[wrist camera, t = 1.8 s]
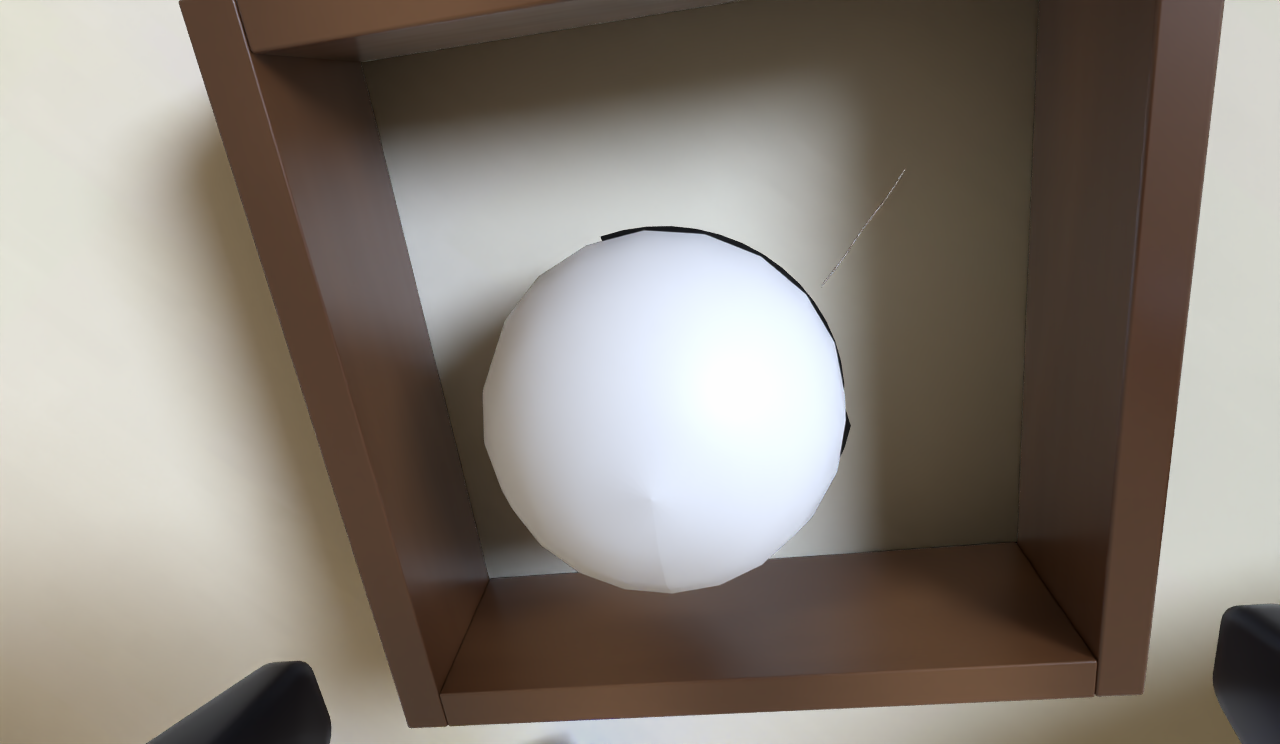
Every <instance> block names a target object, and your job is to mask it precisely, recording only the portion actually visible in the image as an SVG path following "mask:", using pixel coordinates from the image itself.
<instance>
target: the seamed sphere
mask: <svg viewBox="0 0 1280 744" xmlns="http://www.w3.org/2000/svg"><path fill="white" fill-rule="evenodd" d="M905 169H906V168H905ZM905 169H904V171H905ZM904 171H903V172H902V174H901V176H902V175H903V173H904ZM901 176H900V177H899V179H900V178H901ZM899 179H898V180H897V182H898V181H899ZM897 182H896V183H895V185H894V187H895V186H896V184H897ZM894 187H893V188H892V190H893V189H894ZM892 190H891V191H890V193H891V192H892ZM890 193H889V194H888V195H887V197H886V198H885V199H884V201H883V202H882V203H881V205H880V206H879V207H878V208H877V210H876V211H875V212H874V214H873V215H872V216H871V218H870V219H869V220H868V222H867V223H866V224H865V226H864V227H863V228H862V230H861V231H860V233H861V232H862V231H863V229H864V228H865V227H866V225H867V224H868V223H869V221H870V220H871V219H872V217H873V216H874V215H875V213H876V212H877V211H878V210H879V208H880V207H881V206H882V204H883V203H884V202H885V200H886V199H887V198H888V196H889V195H890ZM860 233H859V234H858V236H859V235H860ZM858 236H857V237H856V239H857V238H858ZM601 239H602V241H601V242H597V243H594V244H590V245H586V246H585V247H583V248H582V249H580V250H579V251H577V252H575V253H574V254H572V255H571V256H569V257H568V258H566V259H565V260H563V261H562V262H560V263H559V264H557V265H556V266H554V267H552V268H551V269H549V270H548V271H546V272H545V273H543V274H542V275H540V276H539V277H538V278H537V279H536V281H535V282H534V283H533V284H532V286H531V287H530V288H529V290H528V291H527V292H526V294H525V295H524V296H523V297H522V299H521V300H520V301H519V303H518V304H517V305H516V307H515V308H514V309H513V310H512V312H511V313H510V314H509V316H508V317H507V318H506V319H505V322H504V325H503V329H502V332H501V335H500V338H499V341H498V344H497V347H496V350H495V353H494V356H493V359H492V362H491V366H490V369H489V372H488V375H487V379H486V382H485V386H484V389H483V421H484V444H485V447H486V449H487V452H488V455H489V457H490V460H491V463H492V465H493V468H494V471H495V473H496V476H497V479H498V481H499V484H500V486H501V489H502V491H503V493H504V495H505V497H506V498H507V500H508V502H509V504H510V506H511V507H512V509H513V510H514V512H515V513H516V514H517V515H518V517H519V518H520V519H521V520H522V522H523V523H524V524H525V526H526V527H527V528H528V529H529V531H530V532H531V533H532V534H533V536H534V537H535V538H536V540H537V541H538V542H539V543H540V545H541V546H543V547H544V548H546V549H547V550H548V551H550V552H551V553H553V554H554V555H555V556H557V557H558V558H560V559H561V560H562V561H564V562H565V563H567V564H568V565H569V566H571V567H572V568H574V569H575V570H576V571H578V572H579V573H582V574H584V575H587V576H590V577H593V578H595V579H598V580H601V581H603V582H606V583H609V584H612V585H614V586H617V587H620V588H623V589H628V590H639V591H650V592H661V593H678V592H684V591H690V590H695V589H701V588H707V587H713V586H718V585H721V584H723V583H725V582H727V581H729V580H731V579H734V578H736V577H738V576H740V575H742V574H744V573H746V572H748V571H750V570H752V569H754V568H756V567H758V566H761V565H762V564H763V563H764V562H766V561H767V560H768V559H769V558H770V557H771V556H772V555H773V554H774V553H775V552H776V551H777V550H779V549H780V548H781V547H782V546H783V545H784V544H785V543H786V542H787V541H788V540H789V539H790V538H791V537H793V536H794V535H795V534H796V533H797V532H798V531H799V530H800V529H801V528H802V527H803V526H804V525H805V524H806V523H807V522H808V521H809V520H810V519H811V518H812V517H813V515H814V513H815V511H816V510H817V508H818V506H819V504H820V502H821V500H822V499H823V497H824V495H825V493H826V491H827V489H828V488H829V486H830V484H831V482H832V480H833V479H834V477H835V475H836V473H837V471H838V465H839V459H840V456H841V454H842V452H843V450H844V447H845V444H846V441H847V437H848V434H849V430H850V427H851V425H850V422H849V419H848V416H847V412H846V409H845V393H844V379H843V372H842V365H841V360H840V356H839V353H838V349H837V346H836V343H835V340H834V338H833V335H832V333H831V331H830V328H829V326H828V324H827V322H826V320H825V318H824V317H823V315H822V313H821V312H820V310H819V309H818V307H817V305H816V304H815V302H814V301H813V300H812V298H811V297H810V296H809V295H808V294H807V292H806V291H805V290H804V289H803V287H802V286H801V285H800V284H799V283H798V282H797V281H796V280H795V279H794V278H793V277H792V276H791V275H789V274H788V273H787V272H786V271H785V270H784V269H783V268H782V267H780V266H779V265H777V264H776V263H775V262H773V261H772V260H770V259H769V258H768V257H766V256H765V255H763V254H762V253H760V252H758V251H756V250H754V249H752V248H750V247H748V246H747V245H745V244H743V243H740V242H738V241H735V240H733V239H730V238H727V237H725V236H722V235H719V234H715V233H711V232H707V231H702V230H698V229H692V228H683V227H674V226H658V227H642V228H635V229H628V230H622V231H619V232H615V233H611V234H608V235H604V236H601ZM856 239H855V240H854V242H855V241H856ZM854 242H853V243H852V245H853V244H854ZM852 245H851V247H852ZM851 247H850V248H849V250H850V249H851ZM849 250H848V251H847V253H848V252H849ZM847 253H846V254H845V256H846V255H847ZM845 256H844V257H843V258H842V259H841V261H840V262H839V263H838V265H837V266H836V267H835V269H834V270H833V271H832V272H831V274H830V275H829V276H828V277H827V279H826V280H825V281H824V283H823V284H822V286H823V285H824V284H825V282H826V281H827V280H828V279H829V277H830V276H831V275H832V273H833V272H834V271H835V270H836V268H837V267H838V266H839V264H840V263H841V262H842V260H843V259H844V258H845Z"/></svg>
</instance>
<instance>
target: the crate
mask: <svg viewBox="0 0 1280 744" xmlns="http://www.w3.org/2000/svg"><path fill="white" fill-rule="evenodd" d="M737 1H743V0H180V1H179V5H180V9H181V12H182V15H183V18H184V21H185V24H186V27H187V31H188V34H189V37H190V40H191V43H192V46H193V49H194V53H195V56H196V59H197V62H198V65H199V68H200V72H201V75H202V78H203V81H204V84H205V87H206V90H207V94H208V97H209V100H210V103H211V106H212V109H213V113H214V116H215V119H216V122H217V125H218V128H219V131H220V135H221V138H222V141H223V144H224V147H225V150H226V153H227V157H228V160H229V163H230V166H231V169H232V172H233V176H234V179H235V182H236V185H237V188H238V191H239V194H240V198H241V201H242V204H243V207H244V210H245V213H246V216H247V220H248V223H249V226H250V229H251V232H252V235H253V239H254V242H255V245H256V248H257V251H258V254H259V257H260V261H261V264H262V267H263V270H264V273H265V276H266V280H267V283H268V286H269V289H270V292H271V295H272V298H273V302H274V305H275V308H276V311H277V314H278V317H279V320H280V324H281V327H282V330H283V333H284V336H285V339H286V343H287V346H288V349H289V352H290V355H291V358H292V361H293V365H294V368H295V371H296V374H297V377H298V380H299V383H300V387H301V390H302V393H303V396H304V399H305V402H306V406H307V409H308V412H309V415H310V418H311V421H312V424H313V428H314V431H315V434H316V437H317V440H318V443H319V446H320V450H321V453H322V456H323V459H324V462H325V465H326V469H327V472H328V475H329V478H330V481H331V484H332V487H333V491H334V494H335V497H336V500H337V503H338V506H339V510H340V513H341V516H342V519H343V522H344V525H345V528H346V532H347V535H348V538H349V541H350V544H351V547H352V550H353V554H354V557H355V560H356V563H357V566H358V569H359V573H360V576H361V579H362V582H363V585H364V588H365V591H366V595H367V598H368V601H369V604H370V607H371V610H372V613H373V617H374V620H375V623H376V626H377V629H378V632H379V636H380V639H381V642H382V645H383V648H384V651H385V654H386V658H387V661H388V664H389V667H390V670H391V673H392V677H393V680H394V683H395V686H396V689H397V692H398V695H399V699H400V702H401V705H402V708H403V711H404V714H405V717H406V721H407V724H408V727H409V728H424V727H446V726H448V725H449V726H465V725H487V724H509V723H531V722H554V721H576V720H598V719H620V718H643V717H665V716H687V715H709V714H732V713H754V712H776V711H798V710H821V709H843V708H865V707H887V706H910V705H932V704H954V703H976V702H999V701H1021V700H1043V699H1065V698H1087V697H1094V695H1096V696H1098V697H1102V696H1124V695H1141V694H1143V693H1144V687H1145V678H1146V670H1147V661H1148V652H1149V644H1150V635H1151V627H1152V618H1153V610H1154V601H1155V592H1156V584H1157V575H1158V567H1159V558H1160V549H1161V541H1162V532H1163V524H1164V515H1165V507H1166V498H1167V489H1168V481H1169V472H1170V464H1171V455H1172V447H1173V438H1174V429H1175V421H1176V412H1177V404H1178V395H1179V387H1180V378H1181V369H1182V361H1183V352H1184V344H1185V335H1186V327H1187V318H1188V309H1189V301H1190V292H1191V284H1192V275H1193V267H1194V258H1195V249H1196V241H1197V232H1198V224H1199V215H1200V207H1201V198H1202V189H1203V181H1204V172H1205V164H1206V155H1207V146H1208V138H1209V129H1210V121H1211V112H1212V104H1213V95H1214V86H1215V78H1216V69H1217V61H1218V52H1219V44H1220V35H1221V26H1222V18H1223V9H1224V1H1225V0H1039V5H1038V30H1037V55H1036V80H1035V106H1034V131H1033V156H1032V182H1031V207H1030V232H1029V257H1028V283H1027V308H1026V333H1025V359H1024V384H1023V409H1022V434H1021V460H1020V485H1019V510H1018V536H1017V543H1015V542H1008V543H994V544H980V545H965V546H951V547H937V548H923V549H908V550H894V551H880V552H865V553H851V554H837V555H822V556H808V557H794V558H780V559H768V560H767V561H766V562H764V563H763V564H762V565H761V566H758V567H756V568H754V569H752V570H750V571H748V572H746V573H744V574H742V575H740V576H738V577H736V578H734V579H731V580H729V581H727V582H725V583H723V584H721V585H718V586H713V587H707V588H701V589H695V590H690V591H684V592H678V593H661V592H650V591H639V590H628V589H623V588H620V587H617V586H614V585H612V584H609V583H606V582H603V581H601V580H598V579H595V578H593V577H590V576H587V575H584V574H582V573H565V574H551V575H536V576H522V577H508V578H493V579H490V580H489V577H488V573H487V569H486V565H485V561H484V557H483V553H482V549H481V545H480V541H479V537H478V533H477V528H476V524H475V520H474V516H473V512H472V508H471V504H470V500H469V496H468V492H467V488H466V484H465V480H464V476H463V472H462V468H461V464H460V460H459V456H458V452H457V448H456V444H455V440H454V436H453V432H452V428H451V424H450V420H449V416H448V411H447V407H446V403H445V399H444V395H443V391H442V387H441V383H440V379H439V375H438V371H437V367H436V363H435V359H434V355H433V351H432V347H431V343H430V339H429V335H428V331H427V327H426V323H425V319H424V315H423V311H422V307H421V303H420V298H419V294H418V290H417V286H416V282H415V278H414V274H413V270H412V266H411V262H410V258H409V254H408V250H407V246H406V242H405V238H404V234H403V230H402V226H401V222H400V218H399V214H398V210H397V206H396V202H395V198H394V194H393V190H392V186H391V181H390V177H389V173H388V169H387V165H386V161H385V157H384V153H383V149H382V145H381V141H380V137H379V133H378V129H377V125H376V121H375V117H374V113H373V109H372V105H371V101H370V97H369V93H368V89H367V85H366V81H365V77H364V73H363V68H362V64H361V62H366V61H372V60H379V59H385V58H391V57H397V56H403V55H409V54H416V53H422V52H428V51H434V50H440V49H447V48H453V47H459V46H465V45H471V44H477V43H484V42H490V41H496V40H502V39H508V38H514V37H521V36H527V35H533V34H539V33H545V32H551V31H558V30H564V29H570V28H576V27H582V26H588V25H595V24H601V23H607V22H613V21H619V20H625V19H632V18H638V17H644V16H650V15H656V14H663V13H669V12H675V11H681V10H687V9H693V8H700V7H706V6H712V5H718V4H724V3H730V2H737Z"/></svg>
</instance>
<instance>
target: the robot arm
mask: <svg viewBox="0 0 1280 744" xmlns="http://www.w3.org/2000/svg"><path fill="white" fill-rule="evenodd" d="M1213 686H1214V690H1215V694H1216V697H1217V699H1218V702H1219V704H1220V706H1221V708H1222V710H1223V712H1224V713H1225V715H1226V717H1227V719H1228V721H1229V722H1230V724H1231V726H1232V728H1233V729H1234V731H1235V733H1236V735H1237V736H1238V738H1239V740H1240V742H1241V743H1242V744H1280V605H1279V604H1257V605H1240V606H1233V607H1231V608H1229V609H1227V610H1226V611H1225V613H1224V614H1223V616H1222V620H1221V624H1220V631H1219V638H1218V644H1217V651H1216V657H1215V664H1214V670H1213ZM330 738H331V720H330V716H329V713H328V711H327V708H326V705H325V702H324V700H323V697H322V694H321V691H320V688H319V686H318V683H317V680H316V677H315V675H314V672H313V670H312V668H311V667H310V666H309V665H308V664H307V663H306V662H302V661H288V662H273V663H269V664H266V665H264V666H262V667H260V668H259V669H257V670H256V671H254V672H253V673H251V674H250V675H248V676H247V677H245V678H244V679H242V680H241V681H239V682H238V683H236V684H235V685H233V686H232V687H230V688H229V689H227V690H226V691H224V692H223V693H221V694H220V695H218V696H217V697H215V698H214V699H212V700H211V701H209V702H208V703H206V704H205V705H203V706H202V707H200V708H199V709H197V710H196V711H194V712H193V713H191V714H190V715H188V716H187V717H185V718H184V719H182V720H181V721H179V722H178V723H176V724H175V725H173V726H172V727H170V728H169V729H167V730H166V731H164V732H163V733H161V734H160V735H158V736H157V737H155V738H154V739H152V740H151V741H149V742H148V743H146V744H329V743H330Z"/></svg>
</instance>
